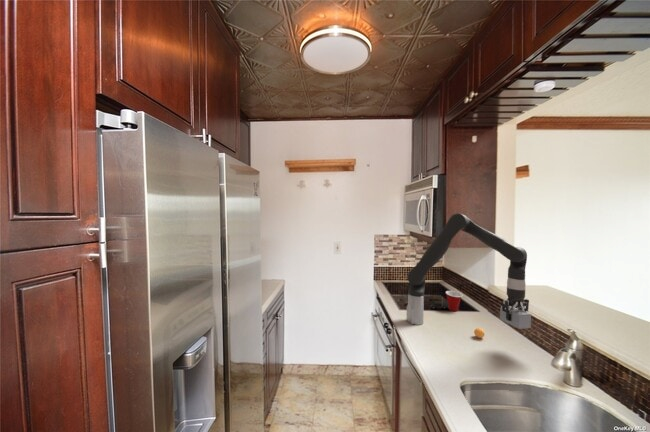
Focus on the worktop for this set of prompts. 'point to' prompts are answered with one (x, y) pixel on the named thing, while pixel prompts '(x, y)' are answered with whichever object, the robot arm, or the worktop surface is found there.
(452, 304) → the plastic cup
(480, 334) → the ball
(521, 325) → the grey rectangular brick
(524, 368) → the worktop surface
